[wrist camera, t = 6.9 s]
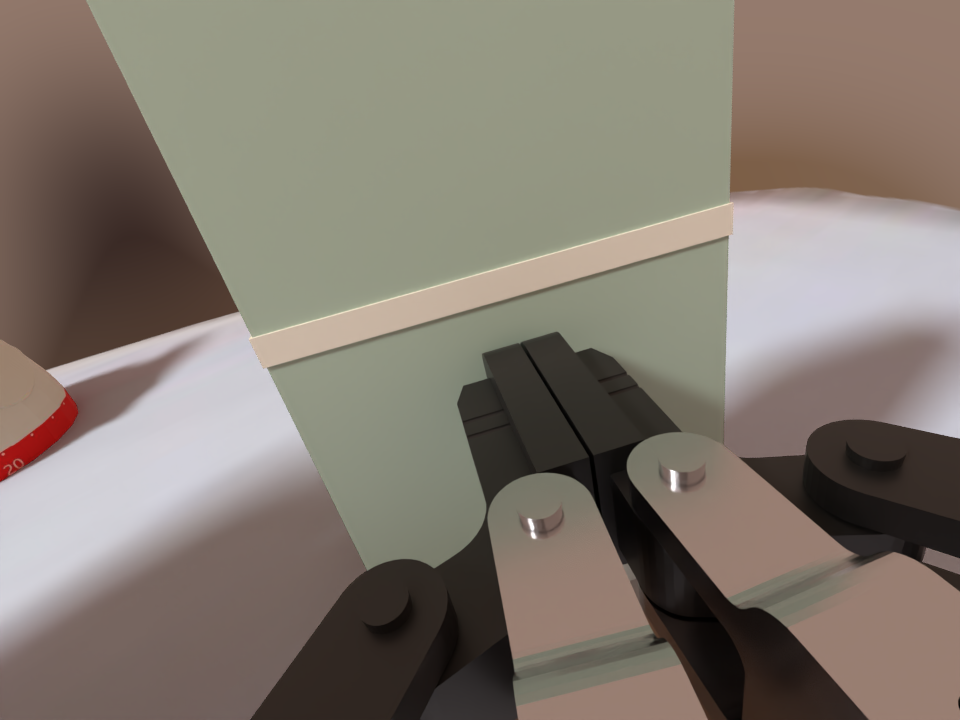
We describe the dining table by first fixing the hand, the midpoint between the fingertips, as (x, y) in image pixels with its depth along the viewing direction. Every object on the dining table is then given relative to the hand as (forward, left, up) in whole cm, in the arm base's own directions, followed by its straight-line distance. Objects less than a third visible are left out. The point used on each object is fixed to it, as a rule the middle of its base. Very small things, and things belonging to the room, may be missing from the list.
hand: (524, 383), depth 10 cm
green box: (-1, +2, -8) cm, 8 cm away
